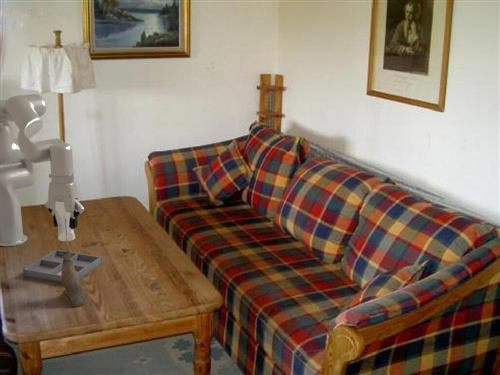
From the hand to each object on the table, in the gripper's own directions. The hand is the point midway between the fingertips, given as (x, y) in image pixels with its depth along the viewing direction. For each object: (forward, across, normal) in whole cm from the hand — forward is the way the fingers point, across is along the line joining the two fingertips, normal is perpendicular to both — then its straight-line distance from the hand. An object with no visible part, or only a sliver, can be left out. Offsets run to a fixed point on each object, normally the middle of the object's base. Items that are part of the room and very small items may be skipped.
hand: (65, 226), depth 229 cm
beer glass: (+5, 0, 0) cm, 5 cm away
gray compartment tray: (+20, -5, +4) cm, 21 cm away
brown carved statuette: (+20, +12, -15) cm, 28 cm away
